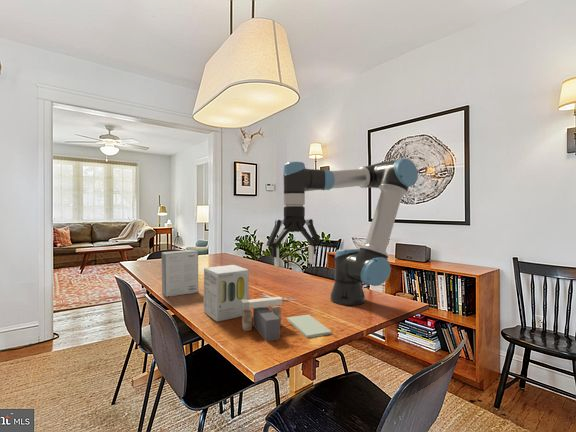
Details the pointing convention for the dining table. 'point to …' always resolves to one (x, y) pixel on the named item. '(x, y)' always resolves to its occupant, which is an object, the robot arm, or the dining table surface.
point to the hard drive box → (179, 272)
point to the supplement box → (225, 291)
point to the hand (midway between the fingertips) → (294, 265)
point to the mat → (308, 326)
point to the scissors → (282, 298)
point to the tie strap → (260, 302)
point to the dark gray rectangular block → (266, 323)
